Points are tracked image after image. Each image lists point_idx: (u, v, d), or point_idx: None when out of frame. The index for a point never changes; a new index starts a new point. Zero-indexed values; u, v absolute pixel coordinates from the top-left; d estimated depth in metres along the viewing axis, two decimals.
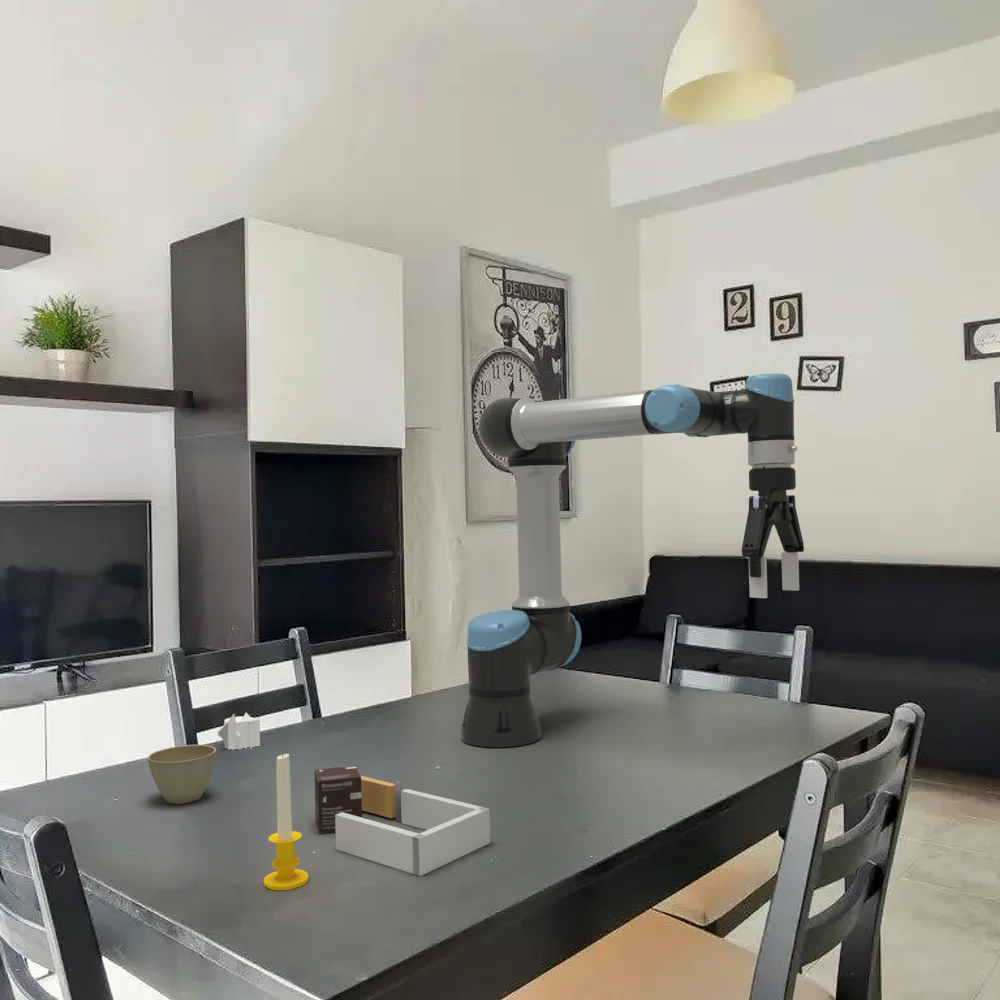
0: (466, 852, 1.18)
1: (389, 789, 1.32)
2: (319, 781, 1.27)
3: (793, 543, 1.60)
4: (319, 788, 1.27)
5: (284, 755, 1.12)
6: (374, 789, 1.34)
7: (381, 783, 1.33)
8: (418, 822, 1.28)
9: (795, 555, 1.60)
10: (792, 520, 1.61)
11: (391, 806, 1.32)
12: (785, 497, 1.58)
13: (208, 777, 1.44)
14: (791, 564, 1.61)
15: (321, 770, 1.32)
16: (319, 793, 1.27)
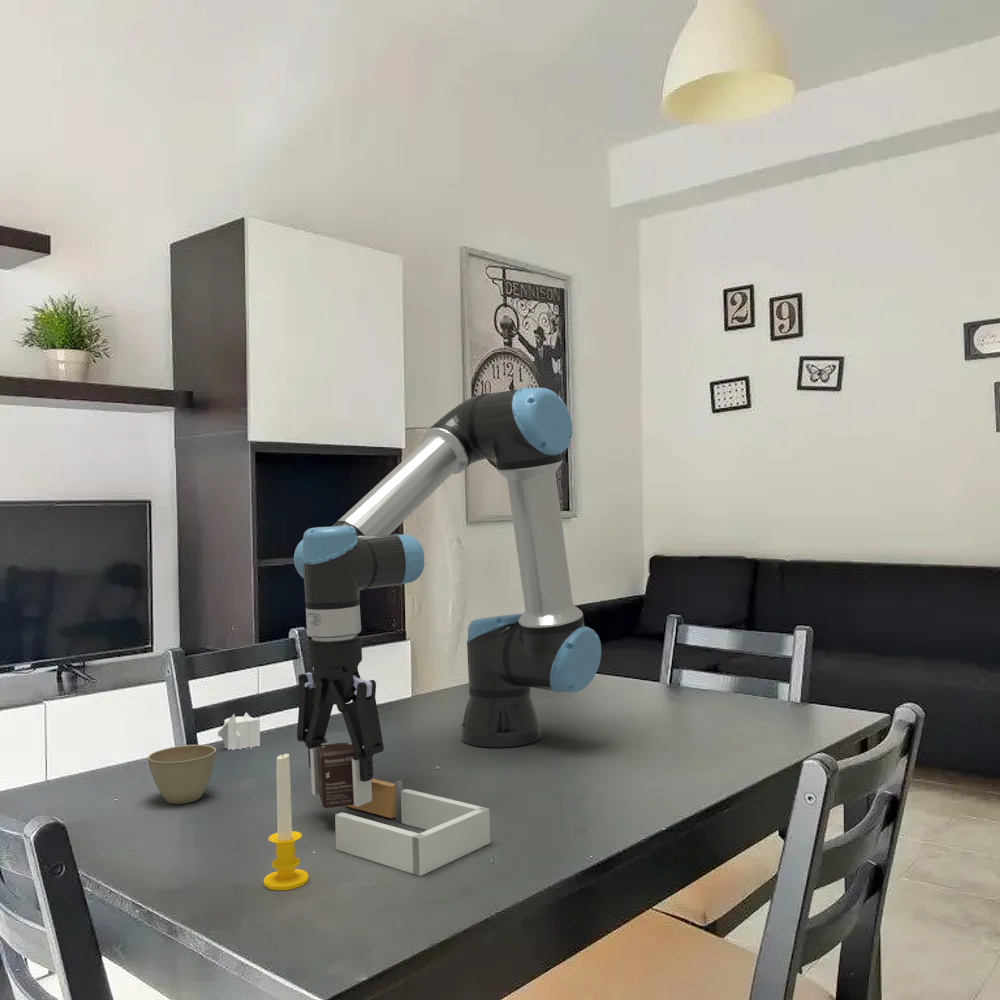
0: (466, 852, 1.18)
1: (389, 789, 1.32)
2: (322, 757, 1.28)
3: None
4: (322, 764, 1.28)
5: (284, 755, 1.12)
6: (374, 789, 1.34)
7: (381, 783, 1.33)
8: (418, 822, 1.28)
9: None
10: None
11: (391, 806, 1.32)
12: (344, 676, 1.28)
13: (208, 777, 1.44)
14: None
15: (324, 746, 1.33)
16: (322, 769, 1.28)
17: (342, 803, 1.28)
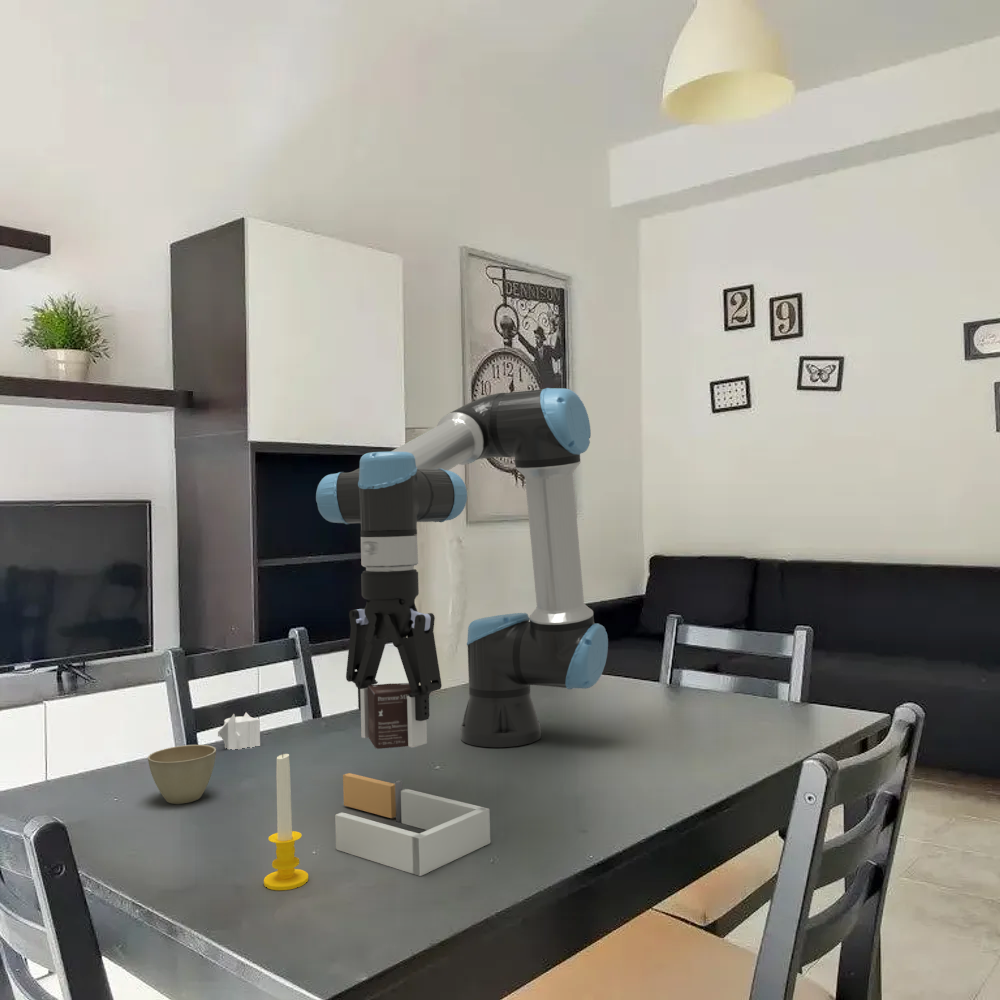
0: (466, 852, 1.18)
1: (389, 789, 1.32)
2: (375, 694, 1.20)
3: None
4: (375, 701, 1.20)
5: (284, 755, 1.12)
6: (374, 789, 1.34)
7: (381, 783, 1.33)
8: (418, 822, 1.28)
9: None
10: None
11: (391, 806, 1.32)
12: (400, 608, 1.21)
13: (208, 777, 1.44)
14: None
15: (375, 685, 1.25)
16: (375, 706, 1.20)
17: (395, 744, 1.21)
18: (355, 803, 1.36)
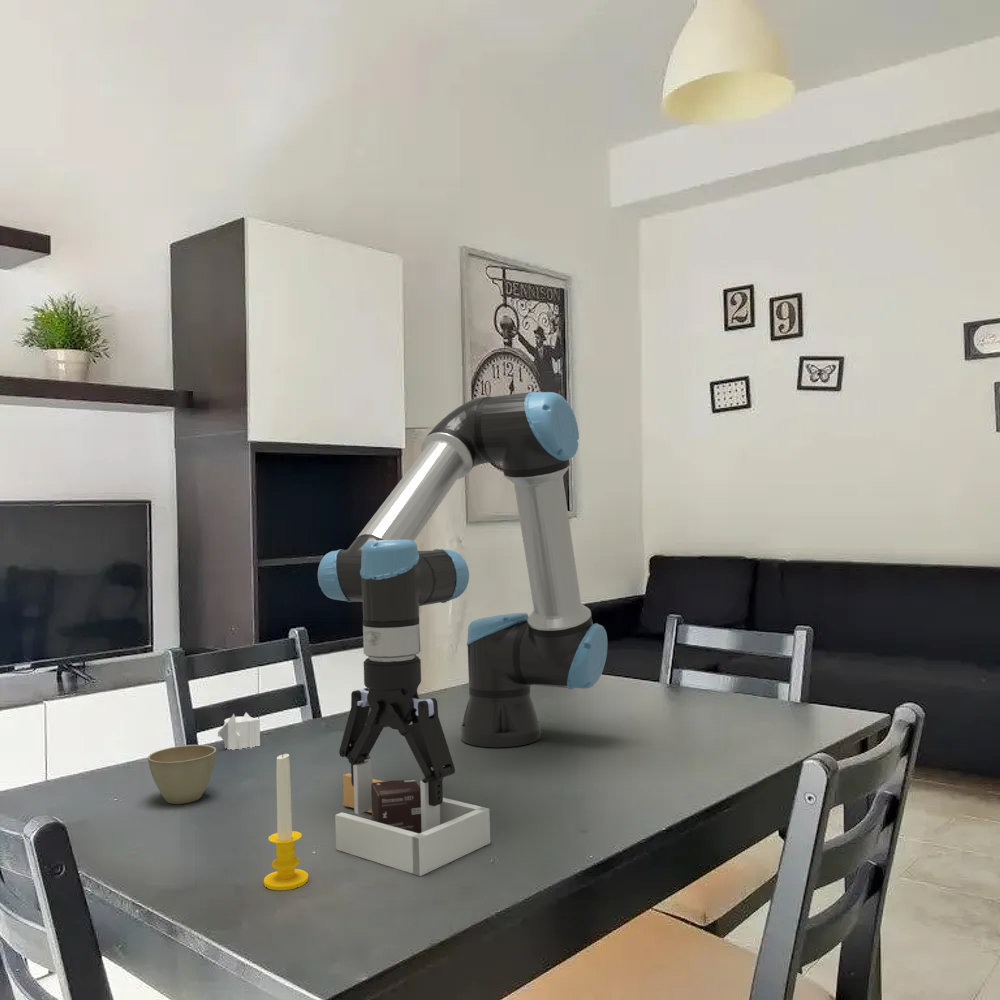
0: (466, 852, 1.18)
1: None
2: (379, 796, 1.20)
3: None
4: (379, 803, 1.20)
5: (284, 755, 1.12)
6: None
7: None
8: None
9: None
10: None
11: None
12: (402, 699, 1.21)
13: (208, 777, 1.44)
14: None
15: (378, 783, 1.25)
16: (379, 808, 1.20)
17: None
18: None
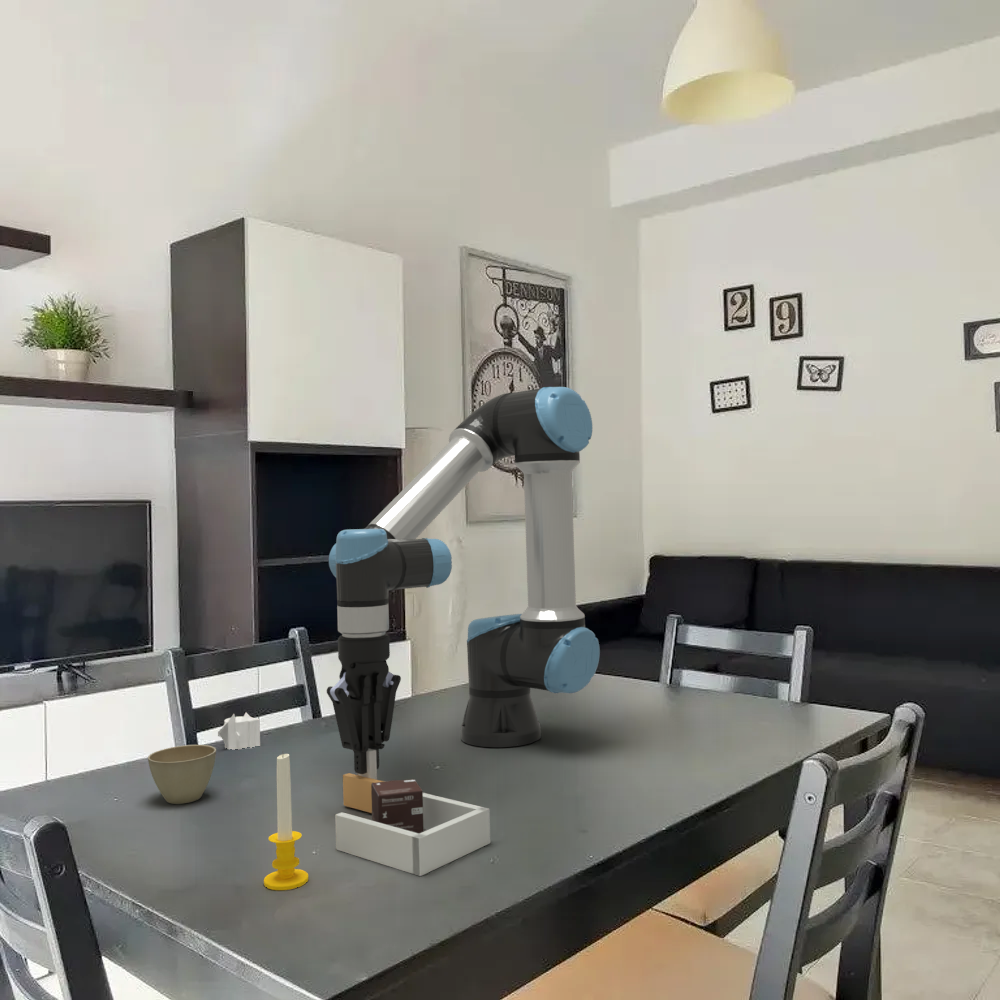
0: (466, 852, 1.18)
1: None
2: (379, 796, 1.20)
3: None
4: (379, 803, 1.20)
5: (284, 755, 1.12)
6: None
7: None
8: None
9: None
10: None
11: None
12: None
13: (208, 777, 1.44)
14: None
15: (378, 783, 1.25)
16: (379, 808, 1.20)
17: None
18: (355, 803, 1.36)
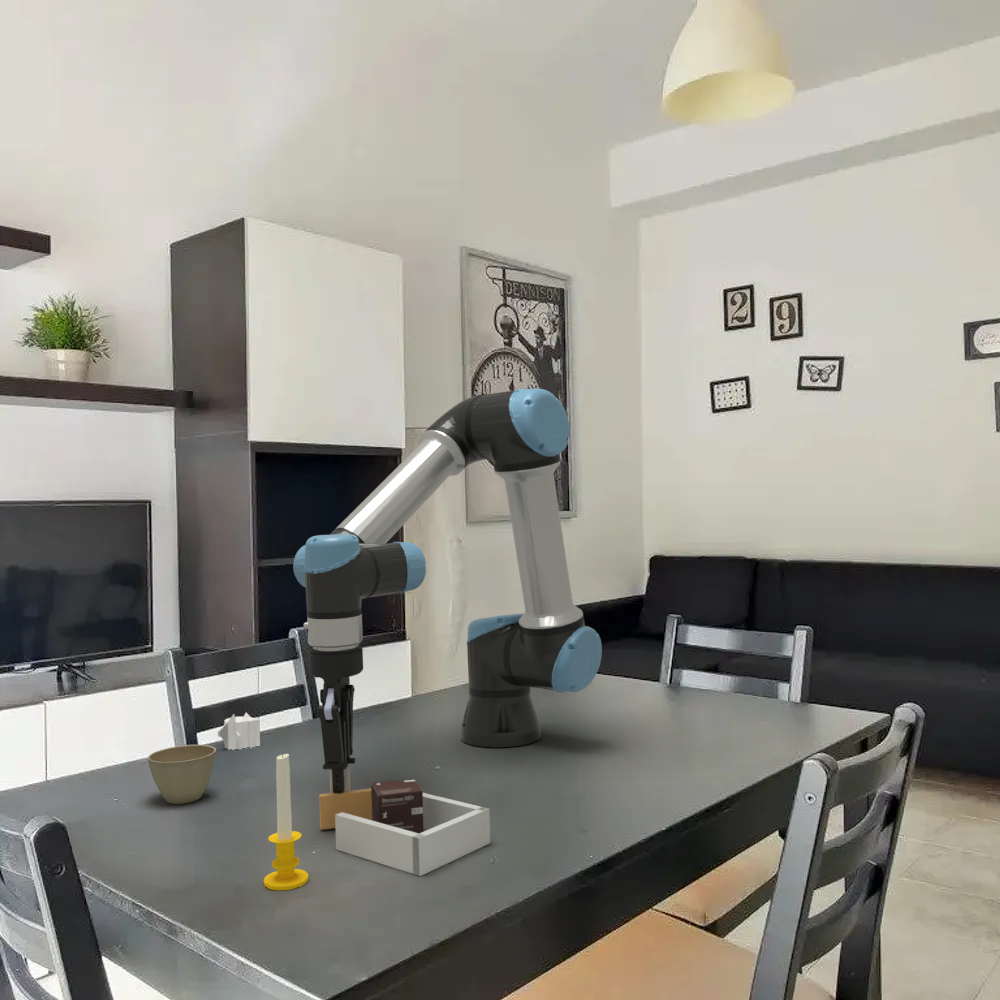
0: (466, 852, 1.18)
1: None
2: (379, 796, 1.20)
3: None
4: (379, 803, 1.20)
5: (284, 755, 1.12)
6: (368, 798, 1.30)
7: None
8: None
9: None
10: None
11: None
12: None
13: (208, 777, 1.44)
14: None
15: (378, 783, 1.25)
16: (379, 808, 1.20)
17: None
18: None
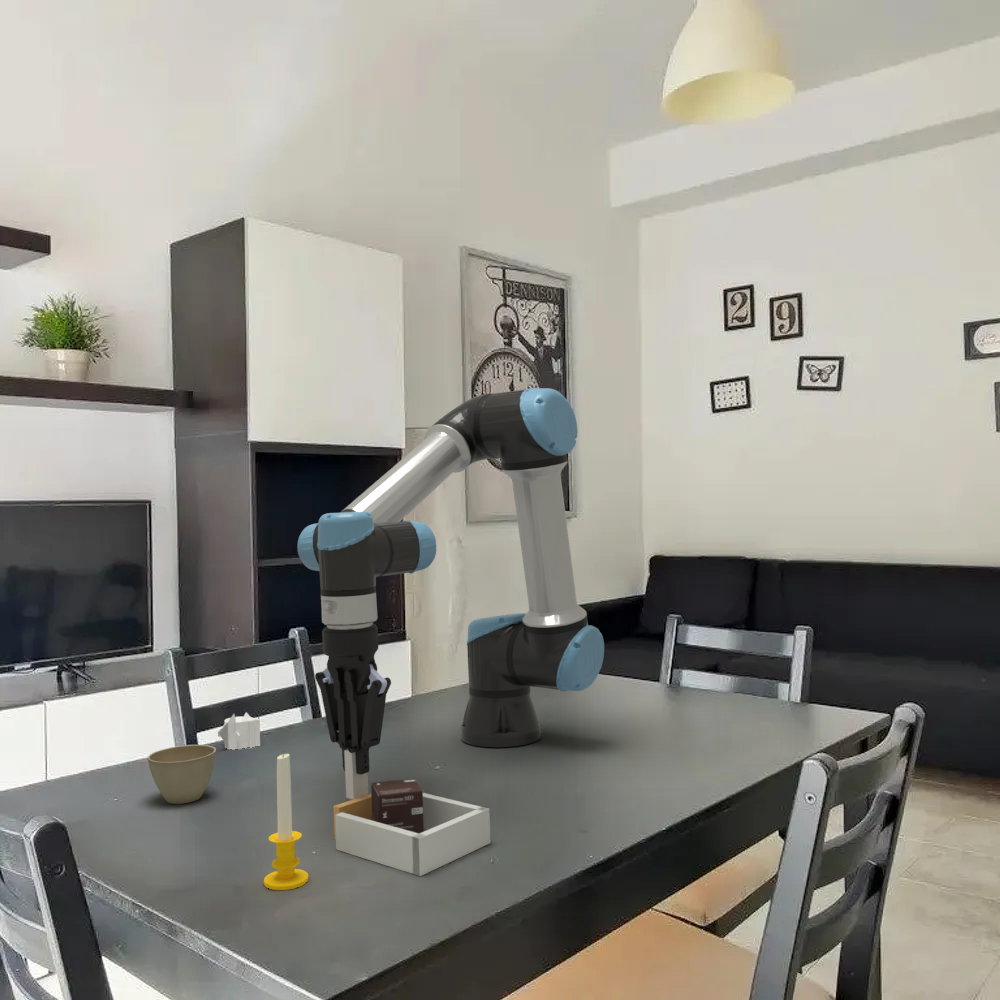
0: (466, 852, 1.18)
1: None
2: (379, 796, 1.20)
3: None
4: (379, 803, 1.20)
5: (284, 755, 1.12)
6: None
7: None
8: None
9: None
10: None
11: None
12: (361, 665, 1.25)
13: (208, 777, 1.44)
14: None
15: (378, 783, 1.25)
16: (379, 808, 1.20)
17: None
18: None
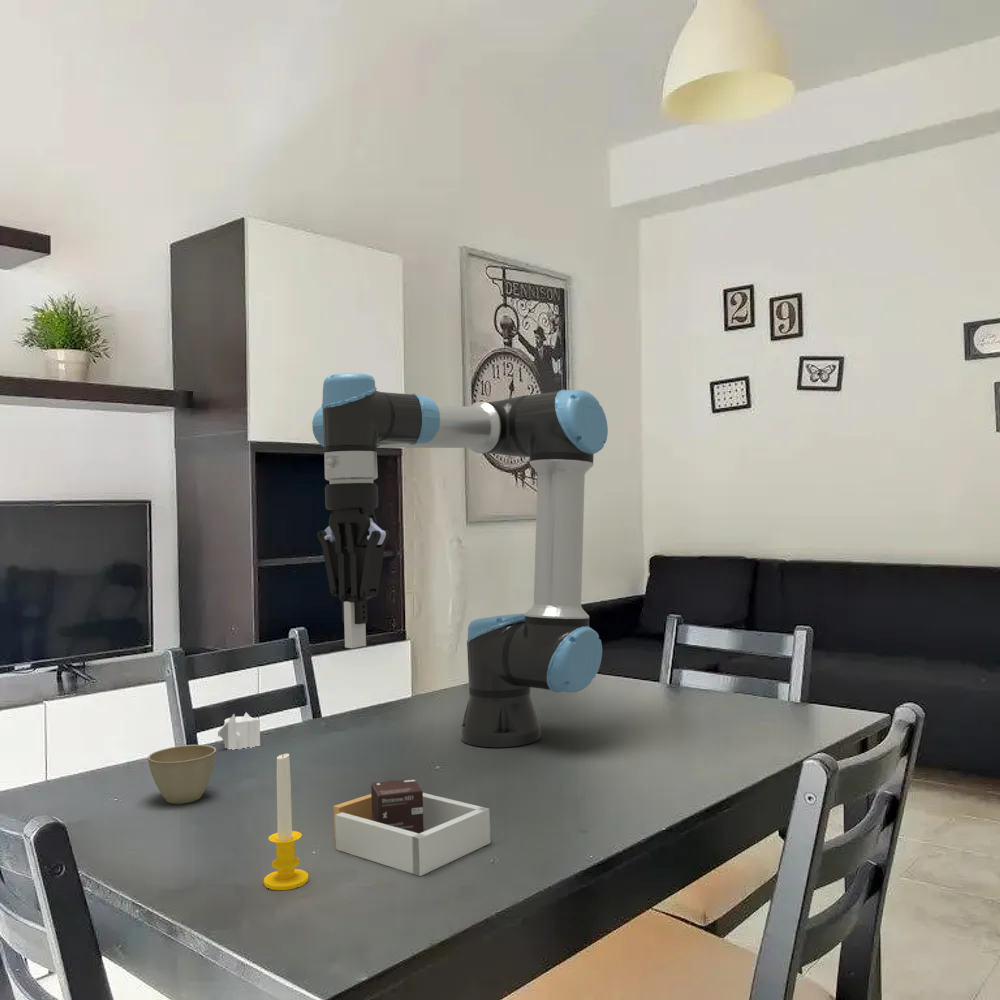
0: (466, 852, 1.18)
1: None
2: (379, 796, 1.20)
3: None
4: (379, 803, 1.20)
5: (284, 755, 1.12)
6: None
7: None
8: None
9: None
10: None
11: None
12: (362, 518, 1.31)
13: (208, 777, 1.44)
14: None
15: (378, 783, 1.25)
16: (379, 808, 1.20)
17: None
18: None
